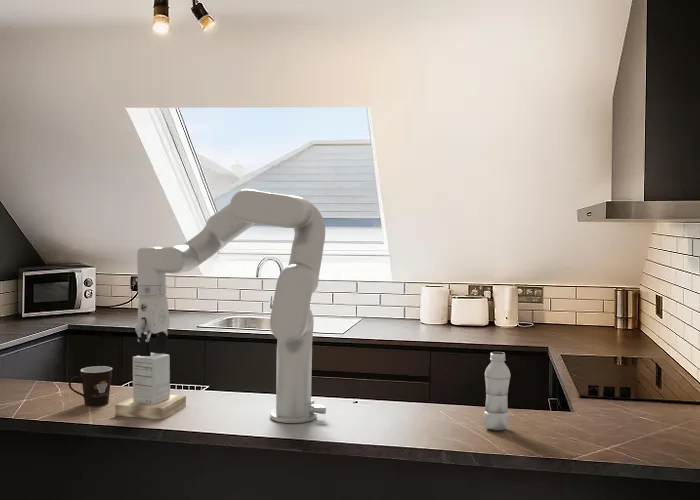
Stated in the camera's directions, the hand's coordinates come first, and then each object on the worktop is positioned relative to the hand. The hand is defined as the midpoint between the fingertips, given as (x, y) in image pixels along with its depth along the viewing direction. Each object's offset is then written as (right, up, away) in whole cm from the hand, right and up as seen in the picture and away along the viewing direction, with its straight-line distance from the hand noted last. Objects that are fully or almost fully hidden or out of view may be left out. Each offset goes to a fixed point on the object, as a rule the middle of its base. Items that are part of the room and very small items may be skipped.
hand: (153, 352), depth 196 cm
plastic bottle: (+93, -18, -12) cm, 95 cm away
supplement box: (-1, -14, 0) cm, 14 cm away
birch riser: (-1, -16, +1) cm, 16 cm away
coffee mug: (-20, -16, +7) cm, 27 cm away
